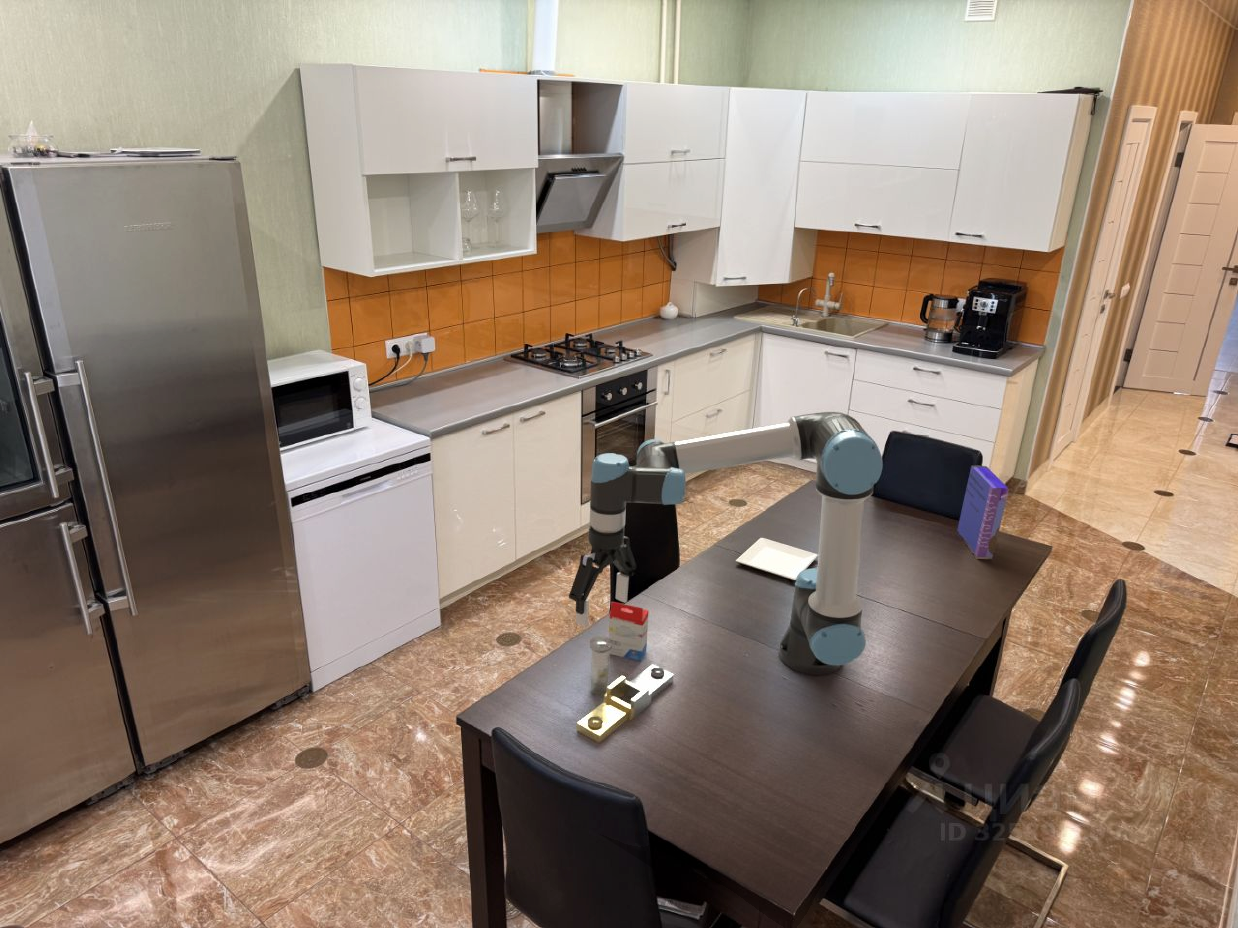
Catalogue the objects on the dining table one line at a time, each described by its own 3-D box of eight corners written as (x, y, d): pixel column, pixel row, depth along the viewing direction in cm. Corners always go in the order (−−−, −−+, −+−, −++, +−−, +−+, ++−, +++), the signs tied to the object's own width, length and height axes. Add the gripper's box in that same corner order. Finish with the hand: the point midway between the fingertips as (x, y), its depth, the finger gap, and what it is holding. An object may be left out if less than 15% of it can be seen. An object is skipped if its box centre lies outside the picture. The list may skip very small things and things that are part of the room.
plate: (817, 560, 259) (818, 554, 258) (794, 585, 244) (795, 579, 244) (760, 542, 268) (761, 536, 267) (734, 566, 253) (735, 560, 253)
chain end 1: (648, 705, 192) (649, 689, 190) (601, 744, 179) (602, 726, 178) (621, 692, 196) (622, 675, 194) (574, 728, 183) (574, 711, 182)
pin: (614, 689, 197) (617, 641, 192) (600, 700, 193) (603, 651, 188) (597, 680, 199) (599, 633, 194) (583, 690, 196) (585, 643, 191)
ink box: (646, 651, 211) (650, 599, 206) (640, 662, 207) (644, 609, 201) (614, 643, 214) (616, 591, 208) (607, 654, 209) (609, 601, 204)
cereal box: (992, 560, 264) (1009, 488, 255) (976, 559, 264) (993, 487, 255) (971, 534, 280) (986, 465, 271) (956, 533, 280) (971, 465, 271)
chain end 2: (675, 682, 200) (677, 666, 198) (633, 718, 188) (634, 701, 186) (649, 670, 204) (650, 653, 202) (606, 703, 192) (607, 687, 190)
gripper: (629, 502, 194) (623, 584, 202) (553, 539, 175) (551, 628, 183) (656, 512, 189) (649, 596, 198) (581, 551, 171) (577, 642, 179)
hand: (602, 612), depth 190 cm, fingers open, 13 cm apart
